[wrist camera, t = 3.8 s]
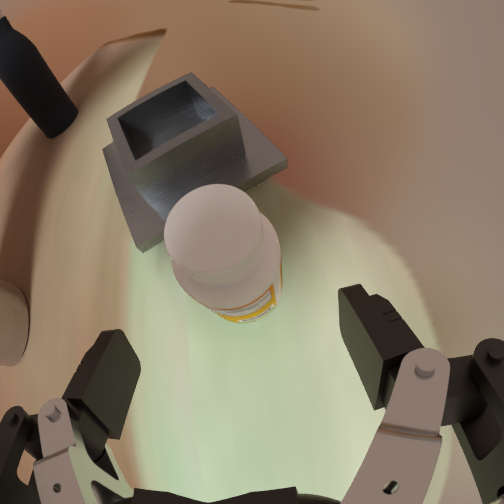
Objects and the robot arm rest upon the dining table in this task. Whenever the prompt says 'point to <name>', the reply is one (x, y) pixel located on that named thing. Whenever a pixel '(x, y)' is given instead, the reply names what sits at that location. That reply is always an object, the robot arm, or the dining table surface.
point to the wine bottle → (33, 82)
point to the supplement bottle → (225, 253)
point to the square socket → (181, 152)
